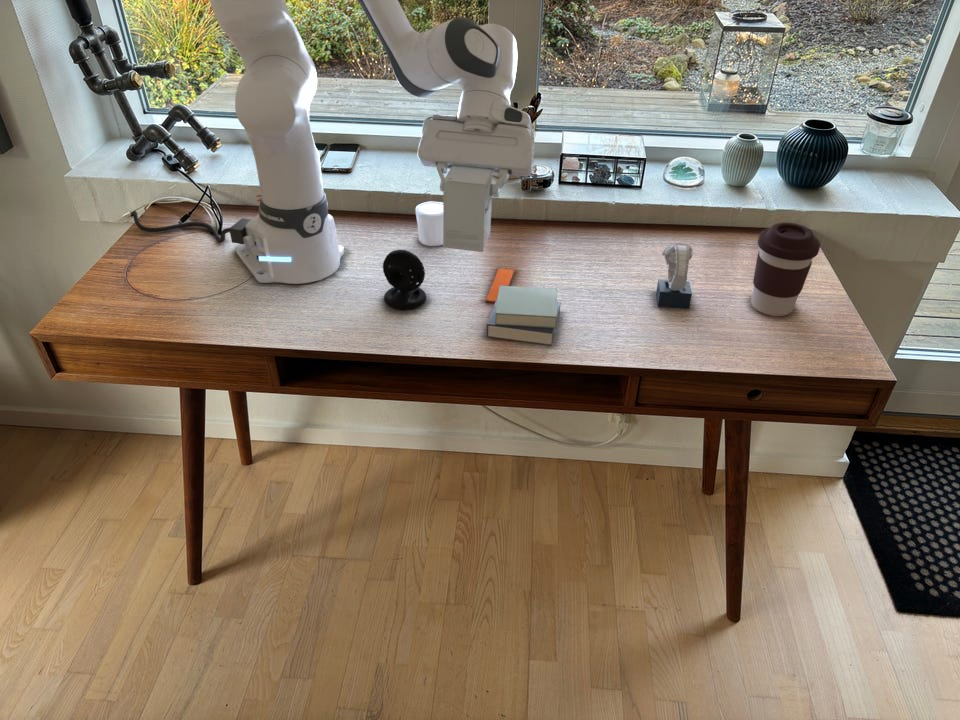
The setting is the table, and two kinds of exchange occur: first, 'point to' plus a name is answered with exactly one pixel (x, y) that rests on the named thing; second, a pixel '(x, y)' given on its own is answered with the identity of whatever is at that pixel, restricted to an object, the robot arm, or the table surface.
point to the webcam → (404, 280)
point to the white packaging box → (467, 208)
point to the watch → (675, 278)
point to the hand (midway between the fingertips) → (469, 193)
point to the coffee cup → (782, 267)
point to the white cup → (430, 223)
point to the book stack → (525, 315)
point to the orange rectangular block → (499, 283)
